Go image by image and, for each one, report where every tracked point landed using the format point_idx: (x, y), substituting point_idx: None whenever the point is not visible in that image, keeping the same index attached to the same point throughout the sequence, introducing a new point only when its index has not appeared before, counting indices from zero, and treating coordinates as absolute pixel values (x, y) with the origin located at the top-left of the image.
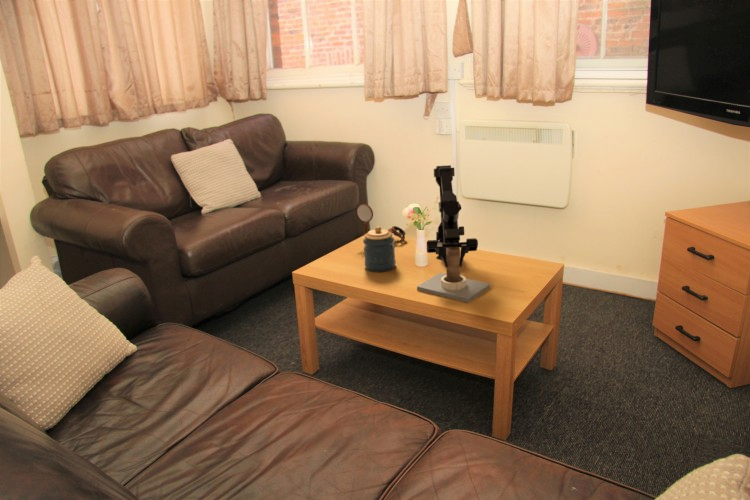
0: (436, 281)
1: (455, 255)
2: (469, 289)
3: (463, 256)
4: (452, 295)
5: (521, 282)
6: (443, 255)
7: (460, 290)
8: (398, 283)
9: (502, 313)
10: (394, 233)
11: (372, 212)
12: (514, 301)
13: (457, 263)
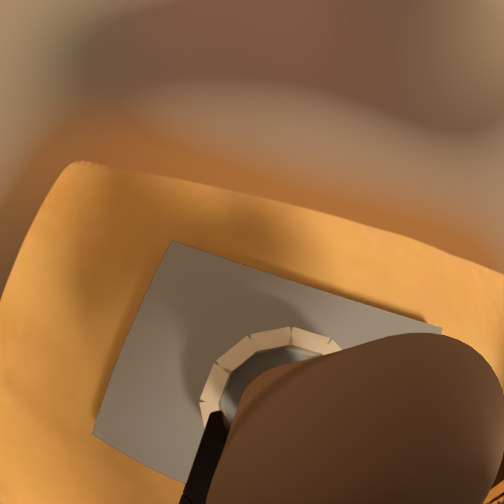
0: None
1: (285, 375)
2: (177, 357)
3: (182, 496)
4: (255, 270)
5: (21, 460)
6: None
7: (224, 336)
8: (494, 364)
9: (72, 198)
10: None
11: None
12: (27, 293)
13: (250, 389)
